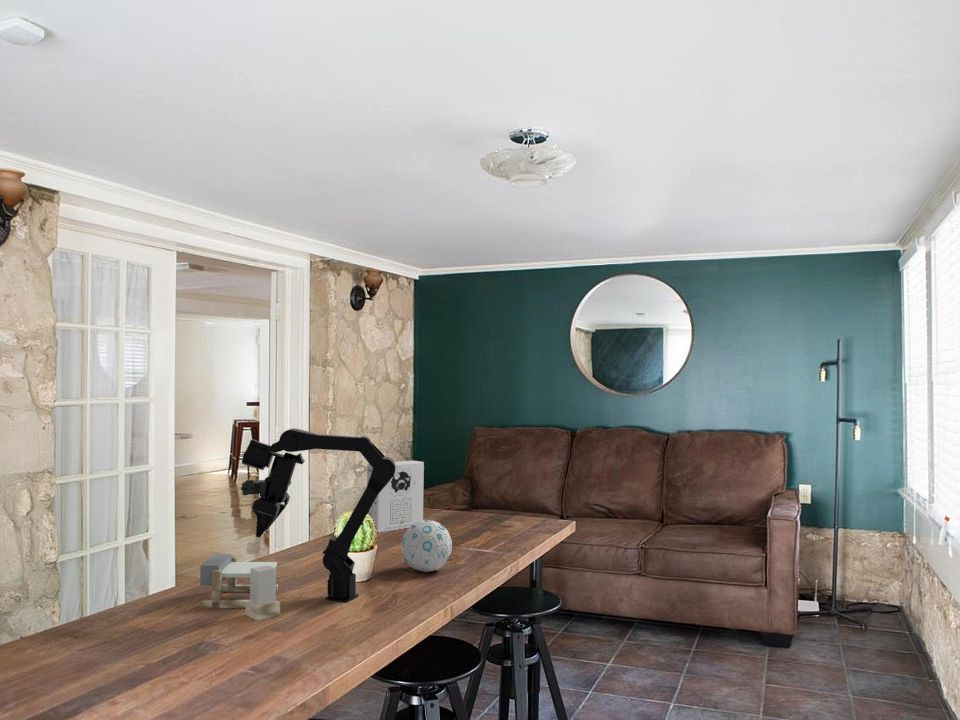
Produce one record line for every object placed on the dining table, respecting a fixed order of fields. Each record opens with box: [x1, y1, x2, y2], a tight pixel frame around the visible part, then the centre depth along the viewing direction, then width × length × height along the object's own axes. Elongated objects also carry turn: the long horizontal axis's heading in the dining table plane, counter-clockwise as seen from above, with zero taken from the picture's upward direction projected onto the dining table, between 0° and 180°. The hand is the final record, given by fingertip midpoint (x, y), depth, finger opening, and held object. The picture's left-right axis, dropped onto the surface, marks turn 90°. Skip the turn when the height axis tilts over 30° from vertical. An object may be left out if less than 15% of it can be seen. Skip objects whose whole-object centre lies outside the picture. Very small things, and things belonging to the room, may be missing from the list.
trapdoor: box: [199, 553, 278, 586], centre depth 200 cm, size 16×12×5 cm
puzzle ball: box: [401, 519, 453, 573], centre depth 231 cm, size 15×15×15 cm
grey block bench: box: [198, 556, 279, 609], centre depth 200 cm, size 16×16×9 cm
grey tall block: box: [249, 565, 277, 606], centre depth 186 cm, size 4×4×8 cm
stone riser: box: [244, 600, 281, 621], centre depth 186 cm, size 6×6×3 cm
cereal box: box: [366, 459, 425, 534], centre depth 296 cm, size 22×8×25 cm, turn 133°
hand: (261, 533), depth 200 cm, fingers open, 9 cm apart
